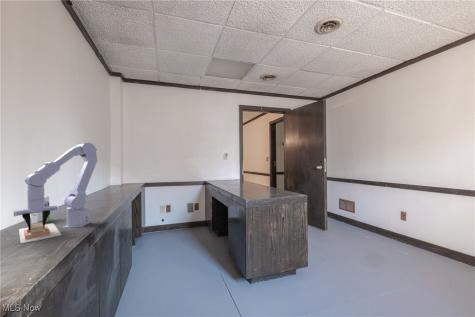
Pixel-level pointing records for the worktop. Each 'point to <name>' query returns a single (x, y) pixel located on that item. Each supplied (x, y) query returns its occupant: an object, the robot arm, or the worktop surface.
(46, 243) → the worktop surface
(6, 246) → the worktop surface
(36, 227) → the maple block
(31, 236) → the terracotta frame
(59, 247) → the worktop surface
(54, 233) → the white mat
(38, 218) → the syrup box
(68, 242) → the worktop surface
